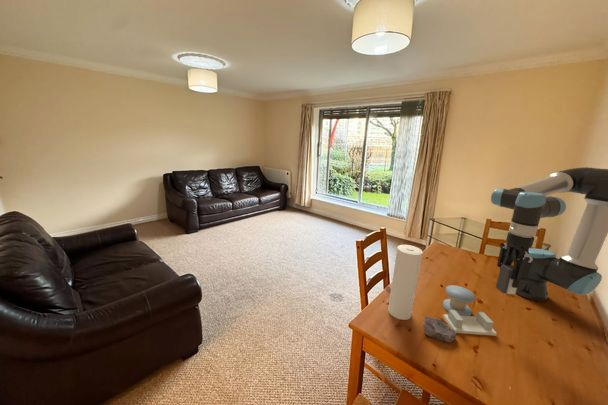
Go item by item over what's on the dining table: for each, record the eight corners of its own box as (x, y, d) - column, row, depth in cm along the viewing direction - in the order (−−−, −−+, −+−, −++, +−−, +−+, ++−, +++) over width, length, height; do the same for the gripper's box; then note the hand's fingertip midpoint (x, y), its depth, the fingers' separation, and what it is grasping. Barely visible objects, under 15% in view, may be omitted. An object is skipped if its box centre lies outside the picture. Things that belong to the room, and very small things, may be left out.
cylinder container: (413, 321, 101) (425, 254, 94) (389, 317, 103) (399, 251, 96) (408, 307, 110) (419, 245, 103) (386, 303, 112) (396, 242, 105)
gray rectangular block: (508, 287, 98) (514, 265, 96) (516, 294, 95) (523, 270, 92) (495, 287, 99) (501, 264, 96) (503, 293, 95) (509, 269, 92)
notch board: (481, 319, 105) (483, 309, 103) (496, 335, 96) (499, 325, 95) (442, 316, 105) (444, 307, 104) (454, 332, 96) (456, 322, 95)
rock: (455, 348, 89) (458, 338, 88) (421, 335, 94) (423, 325, 93) (455, 334, 96) (457, 324, 95) (422, 322, 101) (424, 313, 100)
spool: (462, 302, 116) (465, 286, 114) (476, 318, 105) (481, 301, 103) (438, 300, 116) (441, 284, 114) (450, 316, 106) (454, 299, 103)
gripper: (494, 225, 99) (481, 277, 105) (530, 242, 83) (512, 303, 88) (513, 226, 99) (500, 278, 105) (553, 244, 82) (534, 304, 88)
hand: (505, 289), depth 96 cm, fingers closed on gray rectangular block, 4 cm apart
